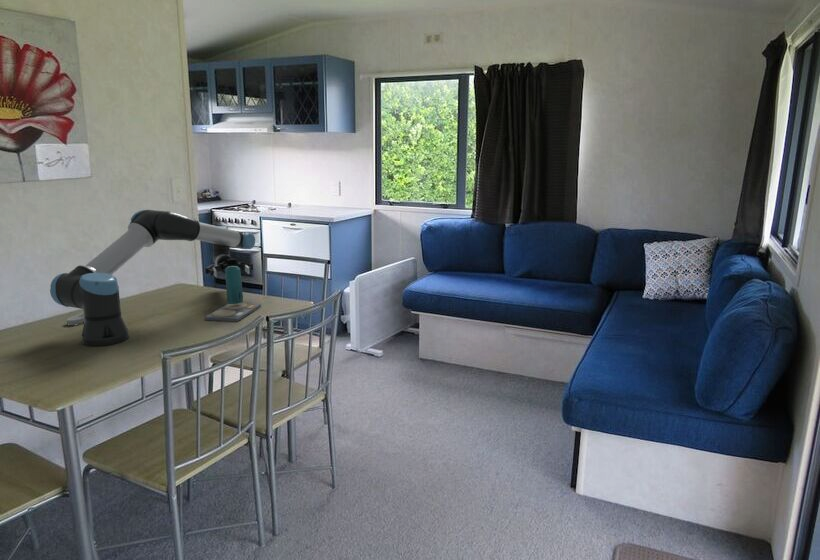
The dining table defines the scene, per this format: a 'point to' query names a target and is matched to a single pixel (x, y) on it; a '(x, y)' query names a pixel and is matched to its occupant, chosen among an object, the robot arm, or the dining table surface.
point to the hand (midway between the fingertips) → (232, 272)
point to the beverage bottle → (233, 282)
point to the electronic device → (76, 319)
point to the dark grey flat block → (233, 312)
